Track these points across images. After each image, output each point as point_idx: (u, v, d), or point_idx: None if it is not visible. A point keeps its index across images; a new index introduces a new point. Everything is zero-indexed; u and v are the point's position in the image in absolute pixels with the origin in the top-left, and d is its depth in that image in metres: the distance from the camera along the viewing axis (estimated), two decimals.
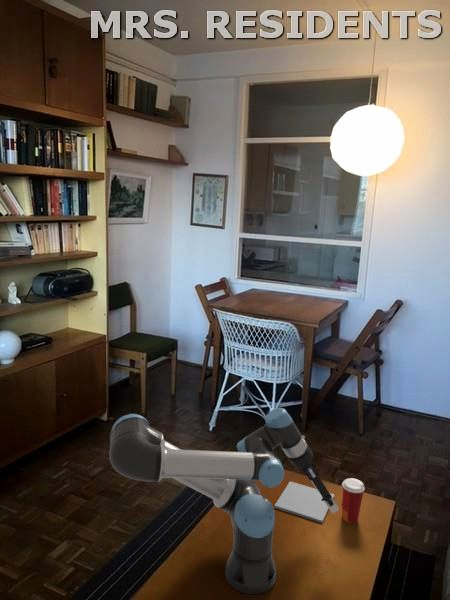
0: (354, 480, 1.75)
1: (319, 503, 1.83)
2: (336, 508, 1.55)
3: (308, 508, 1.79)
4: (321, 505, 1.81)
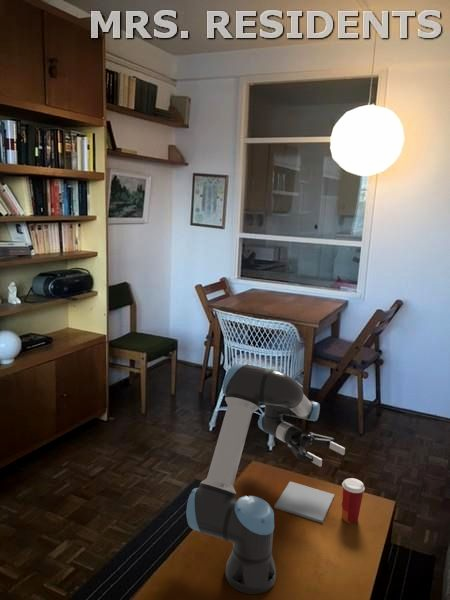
0: (354, 480, 1.75)
1: (319, 503, 1.83)
2: None
3: (308, 508, 1.79)
4: (321, 505, 1.81)
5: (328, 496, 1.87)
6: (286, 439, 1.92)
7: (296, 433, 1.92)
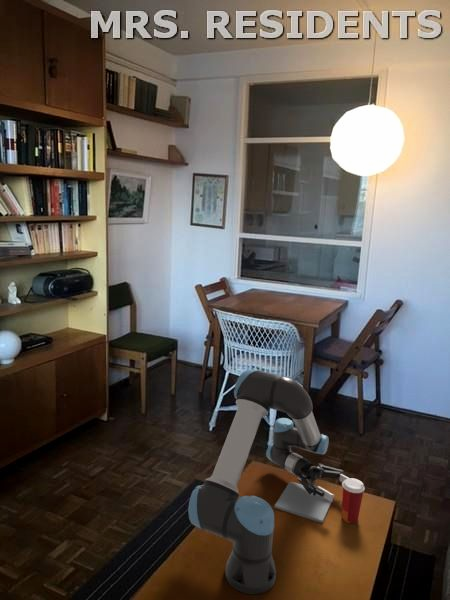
0: (354, 480, 1.75)
1: (319, 503, 1.83)
2: None
3: (308, 508, 1.79)
4: (321, 505, 1.81)
5: None
6: (295, 471, 1.90)
7: (306, 465, 1.90)
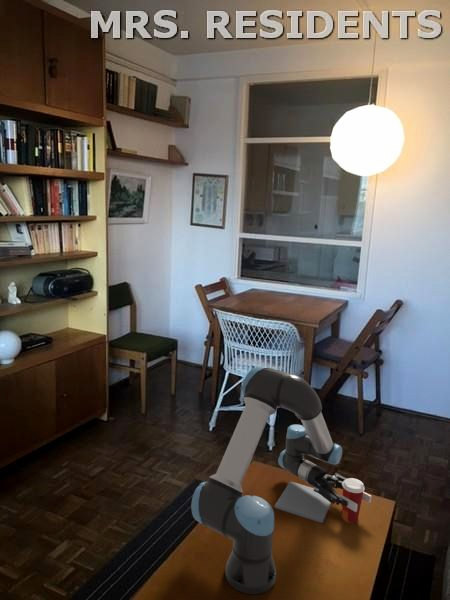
0: (354, 480, 1.75)
1: (319, 503, 1.83)
2: None
3: (308, 508, 1.79)
4: (321, 505, 1.81)
5: None
6: (309, 480, 1.85)
7: (320, 474, 1.84)
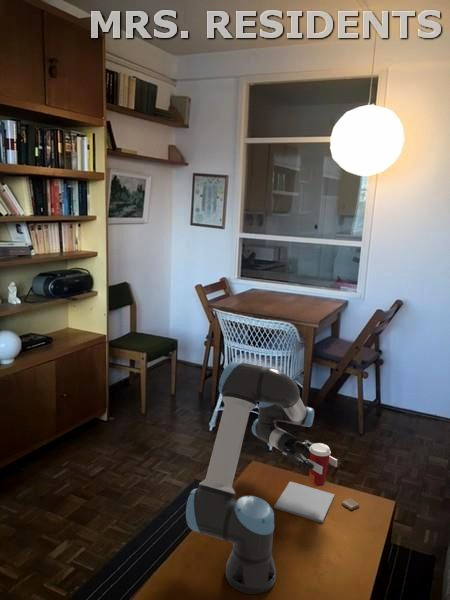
0: (321, 445, 1.80)
1: (319, 503, 1.83)
2: None
3: (308, 508, 1.79)
4: (321, 505, 1.81)
5: (328, 496, 1.87)
6: (279, 446, 1.89)
7: (290, 440, 1.89)
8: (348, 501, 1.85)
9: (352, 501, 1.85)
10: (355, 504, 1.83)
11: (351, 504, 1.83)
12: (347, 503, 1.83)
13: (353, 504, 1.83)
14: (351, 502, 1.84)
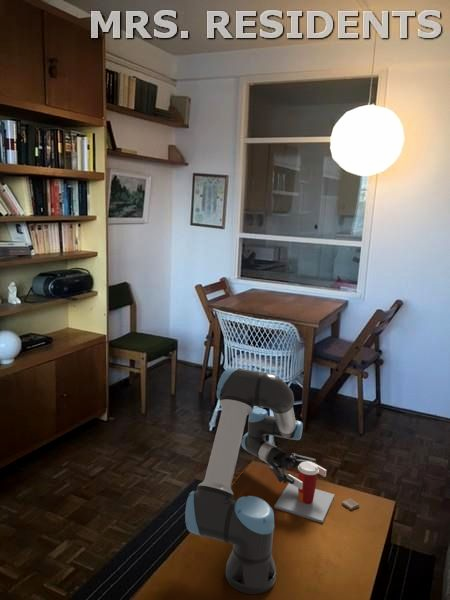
0: (309, 463, 1.83)
1: (319, 503, 1.83)
2: None
3: (308, 508, 1.79)
4: (321, 505, 1.81)
5: (328, 496, 1.87)
6: (268, 460, 1.92)
7: (279, 454, 1.92)
8: (348, 501, 1.85)
9: (352, 501, 1.85)
10: (355, 504, 1.83)
11: (351, 504, 1.83)
12: (347, 503, 1.83)
13: (353, 504, 1.83)
14: (351, 502, 1.84)
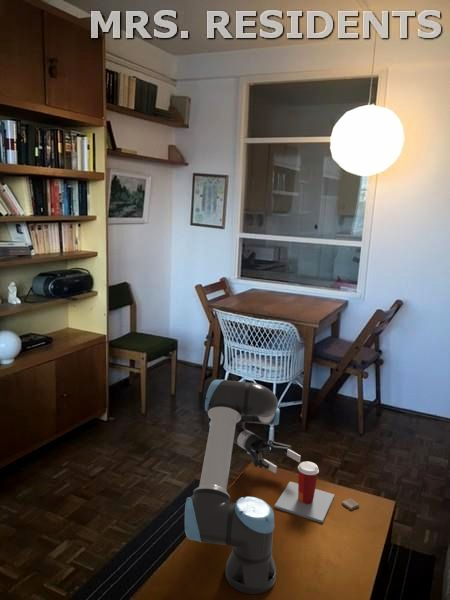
0: (309, 463, 1.83)
1: (319, 503, 1.83)
2: None
3: (308, 508, 1.79)
4: (321, 505, 1.81)
5: (328, 496, 1.87)
6: (246, 447, 2.02)
7: (256, 441, 2.02)
8: (348, 501, 1.85)
9: (352, 501, 1.85)
10: (355, 504, 1.83)
11: (351, 504, 1.83)
12: (347, 503, 1.83)
13: (353, 504, 1.83)
14: (351, 502, 1.84)
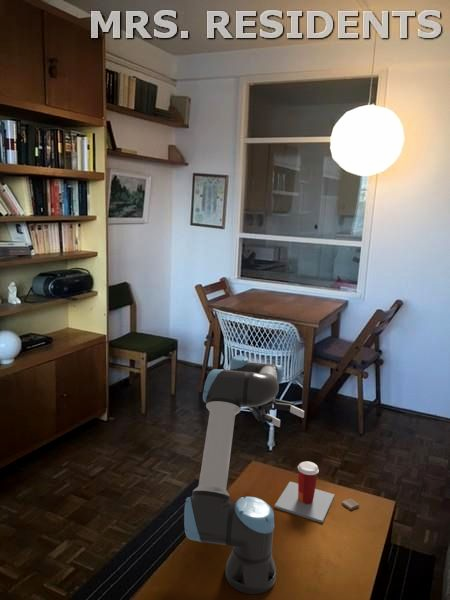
0: (309, 463, 1.83)
1: (319, 503, 1.83)
2: None
3: (308, 508, 1.79)
4: (321, 505, 1.81)
5: (328, 496, 1.87)
6: None
7: None
8: (348, 501, 1.85)
9: (352, 501, 1.85)
10: (355, 504, 1.83)
11: (351, 504, 1.83)
12: (347, 503, 1.83)
13: (353, 504, 1.83)
14: (351, 502, 1.84)
